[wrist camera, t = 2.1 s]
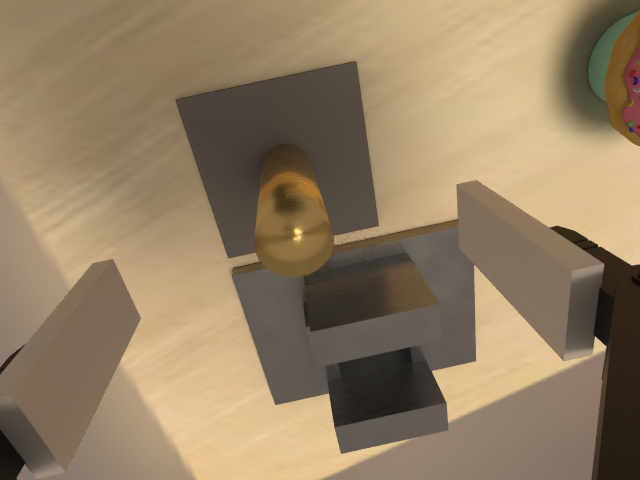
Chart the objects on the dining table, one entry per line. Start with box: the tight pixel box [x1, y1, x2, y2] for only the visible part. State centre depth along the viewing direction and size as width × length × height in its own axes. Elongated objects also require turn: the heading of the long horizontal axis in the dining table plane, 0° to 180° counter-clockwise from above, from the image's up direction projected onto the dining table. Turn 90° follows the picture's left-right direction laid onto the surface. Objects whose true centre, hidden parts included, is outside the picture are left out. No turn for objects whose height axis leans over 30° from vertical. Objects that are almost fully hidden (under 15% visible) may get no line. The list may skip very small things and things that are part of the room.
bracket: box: [232, 220, 476, 454], centre depth 27 cm, size 12×16×7 cm
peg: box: [254, 144, 334, 277], centre depth 20 cm, size 3×3×10 cm
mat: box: [176, 62, 379, 258], centre depth 25 cm, size 10×10×1 cm
